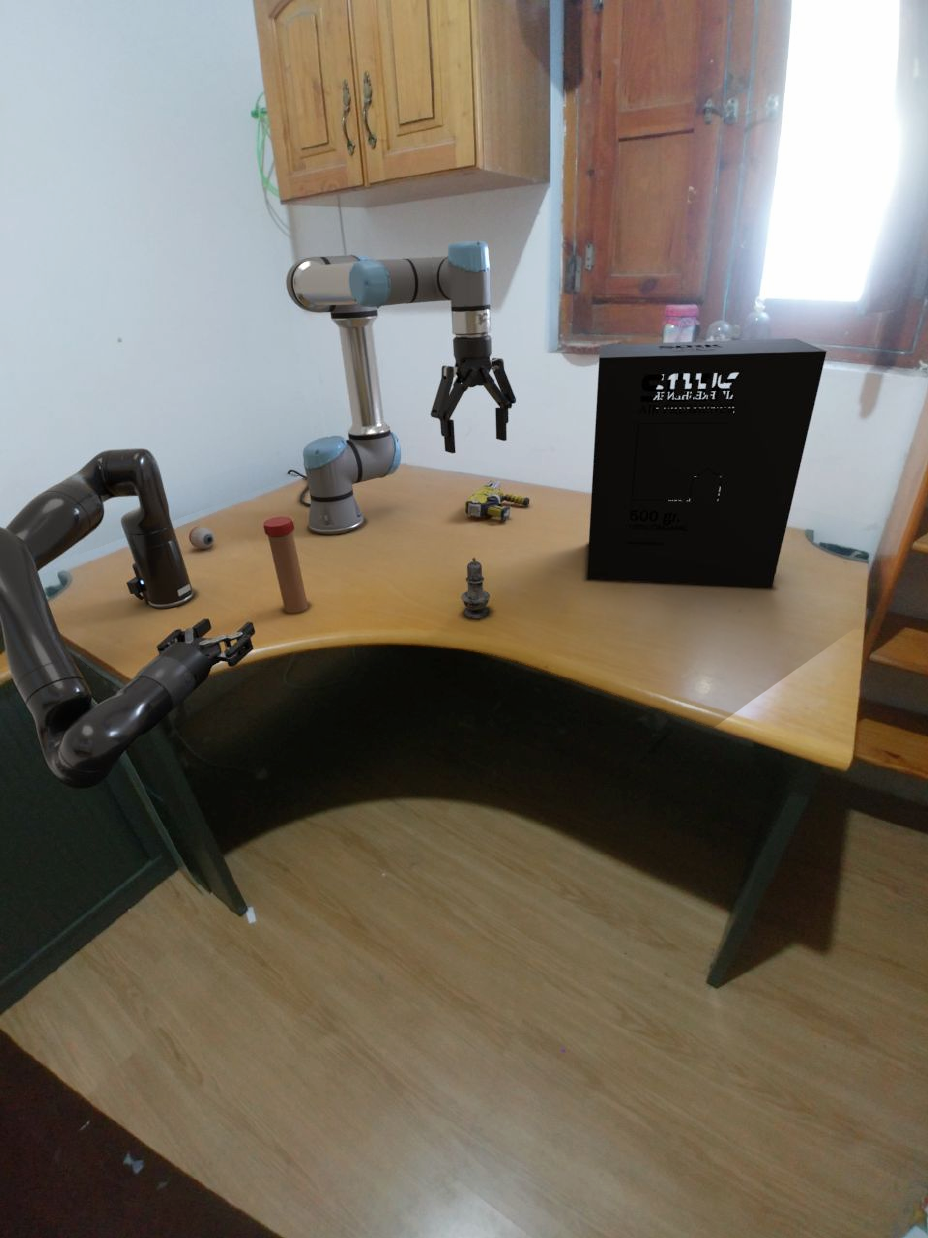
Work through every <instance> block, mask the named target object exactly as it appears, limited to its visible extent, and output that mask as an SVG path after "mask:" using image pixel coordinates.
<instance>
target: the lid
mask: <svg viewBox="0 0 928 1238" xmlns="http://www.w3.org/2000/svg"><path fill="white" fill-rule="evenodd" d="M262 527H263V531H264V532H263V533H264V534H265V535H266V536H267V537H268V536H283V535H287V534H289V533H291V532H293V531H294V530H295V525H294V522H293V519H292V518H291V517H290V516H276V517H270V518H268V519H265V520H264V521H263V523H262Z"/></svg>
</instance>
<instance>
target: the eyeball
mask: <svg viewBox="0 0 928 1238" xmlns="http://www.w3.org/2000/svg"><path fill="white" fill-rule="evenodd" d="M188 539H189V542H190V544H191V545H192V546H193V547H194V548H196V549H198V550H206V549H208V548H210V547H212V545H213V544H214V541H215V535H214V533H213V531H212V529H210V528H209V527H207V526H205V525H198V526H195V527H194V528H192V529H191V530H190V532H189V535H188Z"/></svg>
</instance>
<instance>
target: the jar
mask: <svg viewBox="0 0 928 1238" xmlns="http://www.w3.org/2000/svg"><path fill="white" fill-rule="evenodd" d="M267 539H268V543H269V547H270V553H271V556H272V561H273V564H274V570H275V574H276V578H277V583H278V586H279V590H280V595H281V600H282V604H283V608H284V611H285V613H287V614H293V615H294V614H300V613H302V612H304V611H306V610H307V609H308V607H309V604H308V600H307V595H306V590H305V586H304V581H303V575H302V571H301V566H300V561H299V555H298V553H297V547H296V546H297V545H296V542H295V537H294V532H293V531H292V532H291V533H289V534H287V535H283V536H268V535H267Z"/></svg>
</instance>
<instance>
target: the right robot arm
mask: <svg viewBox="0 0 928 1238" xmlns="http://www.w3.org/2000/svg"><path fill="white" fill-rule="evenodd" d="M490 263H491V262H490V252H489V245H488V244H487V242H485V241H484V240H466V241H455V242H451V243H450V244H449V245H448V247H447V256H431V257H430V256H427V257H413V258H411V257H410V258H391V259H390V258H386V259H374V258H370V257H369V256H367V255H358V254H349V255H328V256H326V255H325V256H310V257H305V258H302V259H300V260H298V261H296V262H295V263H293V265H291V267H290V268H289V269H288V272H287V275H286V281H285V282H286V283H285V284H286V285H285V286H286V290H287V293H288V296H289V297H290V299H291V300H292V303H294V304H295V305H296V306H298V307H299V308H300V309H302V310H304V311H306V312H310V313H318V314H319V313H320V314H321V313H330V320H331V321H332V322H333V323H334V324H335V325H336V326H337V327H338V332H339V333H338V334H339V339H340V347H341V355H342V361H343V369H344V375H345V382H346V383H345V384H346V389H347V396H348V404H349V410H350V418H351V425H350V426H349V428H348V430H347V436H348V439H345V437H343V436H341V435H332V436H324V437H321V438H318V439H315V440H312V441H311V442H309V443H308V444H306V445H305V446H304V448H303V450H302V457H303V459H302V460H303V467H304V471H305V475H304V474H303V473H300V472H299V471H297V470H296V469H289V470H288V471H287V474H288V475H290V474H291V473H294V474H296V475H297V476H299V477H302V478H303V479H306V481H307V485H306V487H305V488H304V489H303V491H302V492H301V494H300V496H299V502H300V503H301V504H302V505H304V506H307V507H309V513H308V528H309V529H308V530H310V531H311V532H312V533H314V534H317V535H323V536H324V535H325V536H327V535H329V536H331V535H339V534H340V535H341V534H345V533H350V532H353V531H355V530H357V529H359V528H361V527H362V526H363V525H364V523H365V519H364V514H363V512H362V510H361V508H360V505H359V504H358V501H357V500H356V498H355V495H354V489H353V485H354V484H355V485H356V484H359V483H363V482H368V481H371V480H375V479H381V478H385V477H387V476H390V475H392V474H394V473H396V472H397V470H398V469H399V467H400V465H401V462H402V446H401V443H400V441H399V437H398V436H397V435H396V434H395V432H394V431H391V426H390V425H388V423H386V422H385V420H384V419H385V418H384V410H383V402H382V393H381V385H380V377H379V368H378V367H379V366H378V358H377V349H376V341H375V331H374V324H375V322H376V320H377V319H378V317H379V314H378V309H379V308H381V307H385V306H394V305H403V304H405V305H406V304H417V303H419V304H420V303H427V302H428V303H429V302H444V301H448V302H449V301H450V311H451V313H450V314H451V315H450V316H451V334H453V335H454V337H453V339H452V350H453V358H454V359H455V363H454V366H452V365H442V366H441V373H440V374H441V375H440V376H441V377H440V381H439V384H438V388H437V390H436V395H435V398H434V401H433V404H432V407H431V411H430V416H431V418H435V419H438V421H439V426H440V435H441V437H443V441H444V442H443V443H444V452H446V453H450V454H456V433H455V420H454V419H451V418H452V416H453V414H454V413H455V410H456V409H457V406H458V404H459V402H460V401H461V399H462V397H463V396H464V393H465V392H466V391H468V389H469V388H474V387H477V386H478V387H482V386H483V387H484V389H485V390H486V391H487V392H488V394H489V396H491V398H492V399H493V401H494V402H495V403H496V405H497V406H498V407H495V408H494V410H495V411H494V413H495V414H494V415H495V439H496V440H499V441H502V442H507V441H508V438H507V435H508V433H507V424H509V410H510V409H512V407H513V404H516V403H517V398H516V394H515V393H514V390H513V388H512V385H511V383H510V380H509V378H508V375H507V373H506V370H505V363H504V362H505V361H504V359H503V358H499V357H493V358H491V356H492V354H493V346H492V344H493V343H492V340H493V339H492V336H491V335H489V333H491V332H492V315H491V314H492V312H491V311H492V309H491V264H490ZM491 370H492V374H493V376H494V378H493V376H492V375H491ZM455 377H456V378H455ZM454 378H455V380H454ZM495 381H496V383H497V384H496V383H495ZM307 491H308V492H309V498H310V503H309V502H305V500H303V498H304V495H305V493H306V492H307Z"/></svg>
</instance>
